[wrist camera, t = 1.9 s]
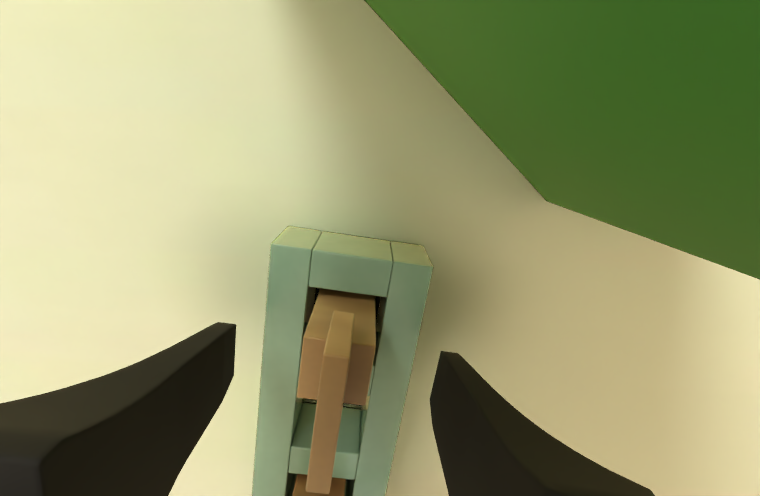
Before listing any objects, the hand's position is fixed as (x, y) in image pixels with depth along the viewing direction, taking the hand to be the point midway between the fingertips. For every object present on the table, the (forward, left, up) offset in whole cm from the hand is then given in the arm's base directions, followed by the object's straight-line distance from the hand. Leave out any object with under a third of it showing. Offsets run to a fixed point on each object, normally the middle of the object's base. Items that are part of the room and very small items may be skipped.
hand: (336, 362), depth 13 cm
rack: (-4, -3, -6) cm, 7 cm away
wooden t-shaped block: (0, 0, -6) cm, 6 cm away
